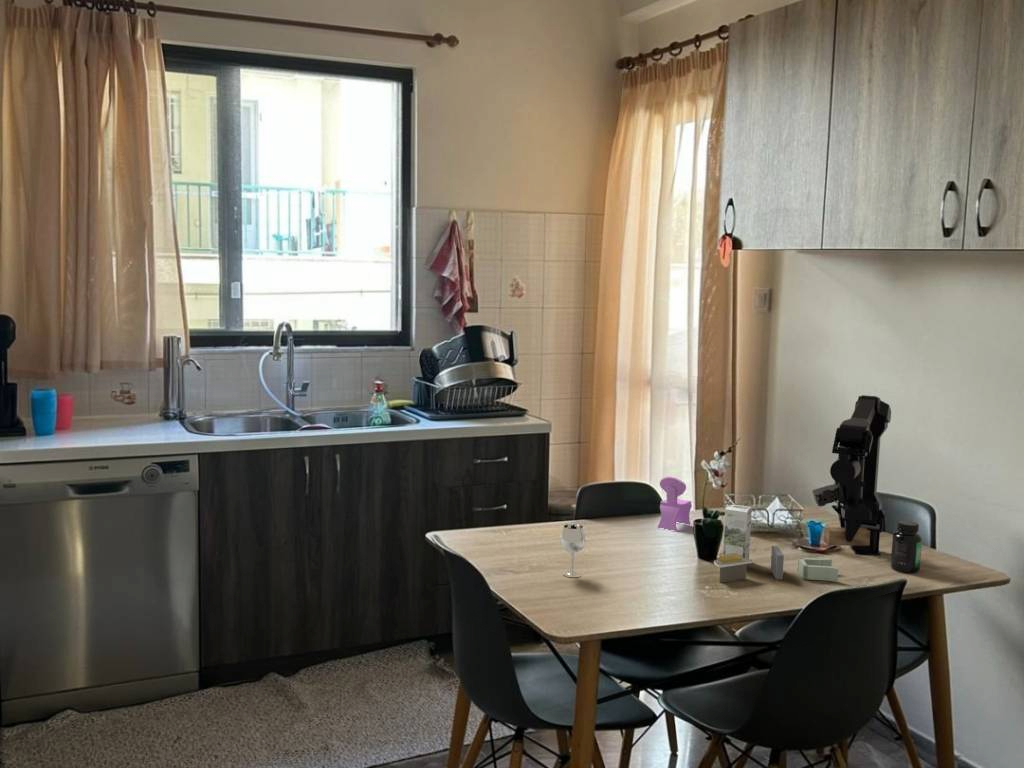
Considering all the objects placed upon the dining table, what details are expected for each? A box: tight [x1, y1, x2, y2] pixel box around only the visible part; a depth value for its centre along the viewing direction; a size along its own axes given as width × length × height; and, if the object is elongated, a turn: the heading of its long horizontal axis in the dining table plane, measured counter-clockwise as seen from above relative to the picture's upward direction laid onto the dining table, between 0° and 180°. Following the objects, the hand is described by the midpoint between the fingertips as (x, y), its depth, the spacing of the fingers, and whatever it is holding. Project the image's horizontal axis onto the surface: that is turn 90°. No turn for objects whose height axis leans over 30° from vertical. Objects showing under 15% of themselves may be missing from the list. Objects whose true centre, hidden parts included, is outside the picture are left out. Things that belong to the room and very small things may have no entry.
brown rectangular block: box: [823, 526, 870, 547], centre depth 245 cm, size 10×4×4 cm, turn 93°
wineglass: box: [560, 523, 586, 576], centre depth 243 cm, size 6×6×12 cm
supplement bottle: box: [890, 520, 923, 574], centre depth 253 cm, size 7×7×12 cm
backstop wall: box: [770, 545, 785, 581], centre depth 247 cm, size 2×8×6 cm, turn 175°
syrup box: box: [722, 504, 753, 559], centre depth 255 cm, size 6×6×14 cm
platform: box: [713, 552, 753, 583], centre depth 242 cm, size 12×18×7 cm, turn 116°
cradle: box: [797, 557, 839, 583], centre depth 246 cm, size 8×9×3 cm
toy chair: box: [656, 476, 692, 532], centre depth 289 cm, size 8×9×15 cm
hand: (846, 539), depth 245 cm, fingers closed on brown rectangular block, 4 cm apart
